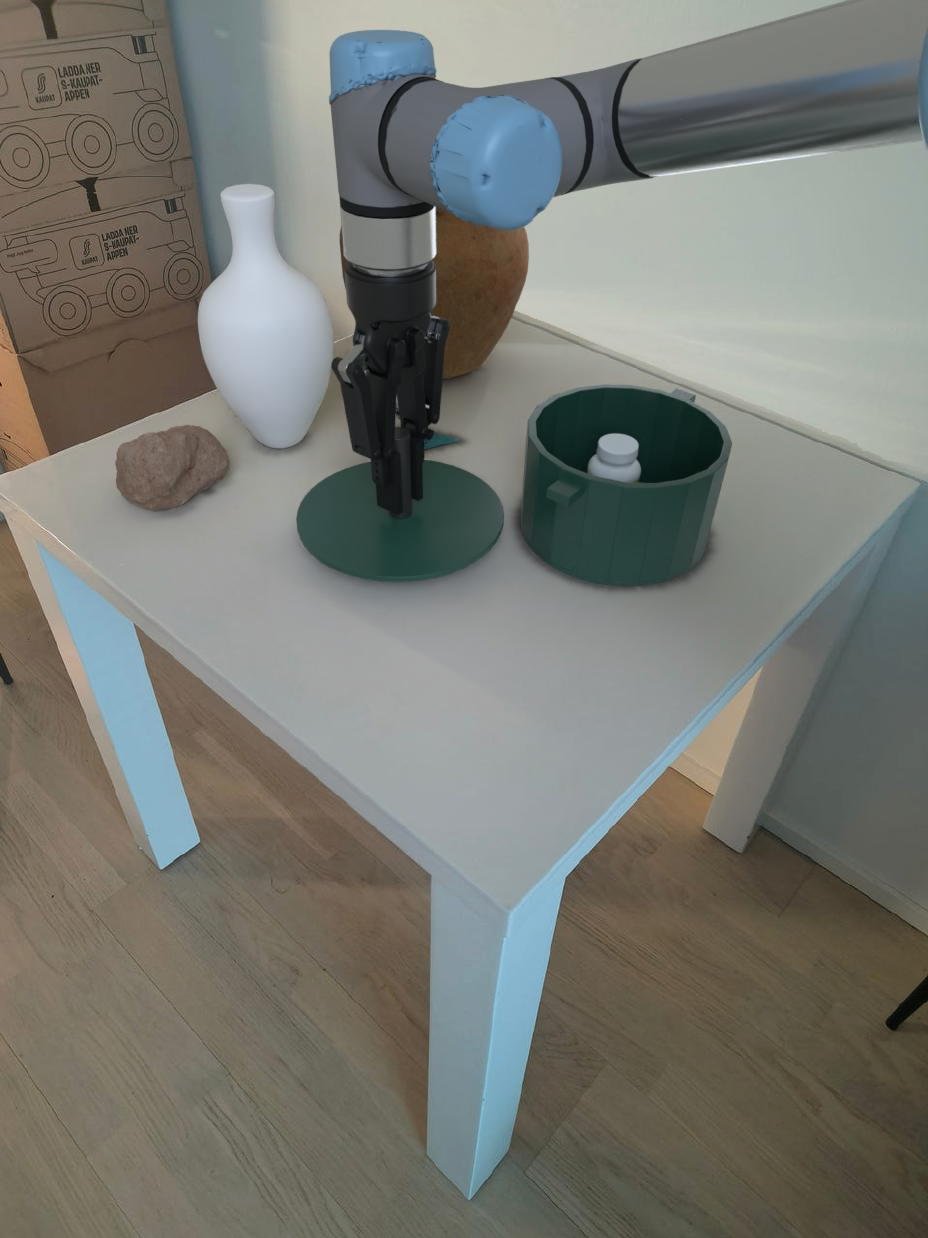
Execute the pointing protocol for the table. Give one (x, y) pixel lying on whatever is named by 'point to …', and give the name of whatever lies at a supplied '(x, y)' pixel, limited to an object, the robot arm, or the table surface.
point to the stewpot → (622, 484)
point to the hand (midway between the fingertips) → (400, 501)
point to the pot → (474, 286)
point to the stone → (169, 466)
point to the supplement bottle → (616, 459)
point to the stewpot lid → (400, 521)
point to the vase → (265, 327)
